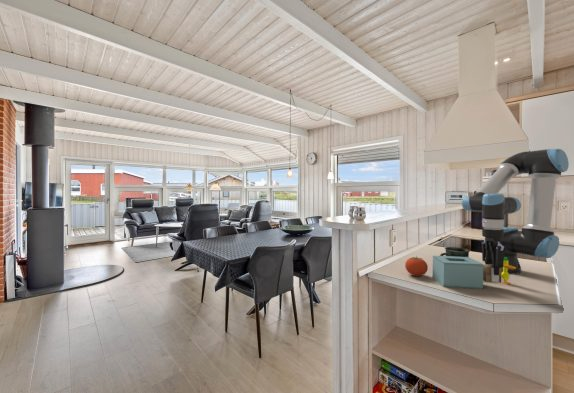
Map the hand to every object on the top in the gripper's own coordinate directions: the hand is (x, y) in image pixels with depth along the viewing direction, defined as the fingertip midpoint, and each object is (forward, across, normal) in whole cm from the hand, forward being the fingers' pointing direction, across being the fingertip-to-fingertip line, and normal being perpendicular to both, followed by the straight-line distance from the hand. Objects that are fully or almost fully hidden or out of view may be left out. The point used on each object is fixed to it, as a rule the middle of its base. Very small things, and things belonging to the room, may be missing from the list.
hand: (492, 280), depth 115 cm
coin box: (+3, -3, -14) cm, 14 cm away
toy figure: (+4, -6, +9) cm, 11 cm away
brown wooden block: (+1, 0, 0) cm, 1 cm away
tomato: (+3, -11, -29) cm, 31 cm away
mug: (+4, -20, -7) cm, 22 cm away
